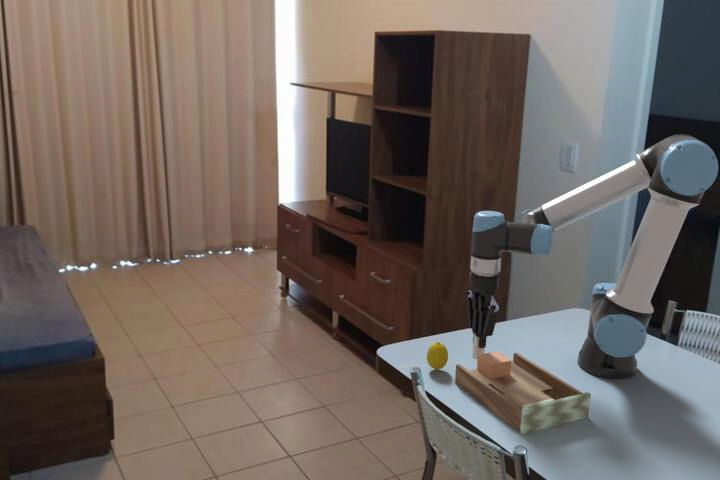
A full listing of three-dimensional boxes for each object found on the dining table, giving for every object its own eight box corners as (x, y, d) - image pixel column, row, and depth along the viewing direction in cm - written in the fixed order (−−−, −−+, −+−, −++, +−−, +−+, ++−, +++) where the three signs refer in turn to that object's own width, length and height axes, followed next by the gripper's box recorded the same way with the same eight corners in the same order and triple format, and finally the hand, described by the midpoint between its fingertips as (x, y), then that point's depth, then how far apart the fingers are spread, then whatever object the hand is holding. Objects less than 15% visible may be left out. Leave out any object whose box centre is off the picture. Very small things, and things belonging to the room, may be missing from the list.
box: (515, 369, 188) (517, 349, 186) (588, 417, 164) (591, 393, 163) (454, 382, 180) (456, 361, 178) (522, 434, 156) (525, 410, 155)
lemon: (446, 376, 183) (448, 347, 181) (424, 373, 184) (426, 345, 182) (447, 367, 188) (449, 339, 186) (427, 364, 189) (428, 336, 187)
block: (495, 365, 184) (497, 351, 183) (510, 374, 179) (511, 360, 178) (476, 369, 182) (477, 354, 181) (490, 379, 176) (492, 364, 175)
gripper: (458, 266, 184) (452, 350, 190) (487, 281, 173) (480, 369, 179) (482, 263, 187) (475, 345, 193) (512, 277, 176) (505, 365, 182)
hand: (478, 357), depth 186 cm, fingers closed
